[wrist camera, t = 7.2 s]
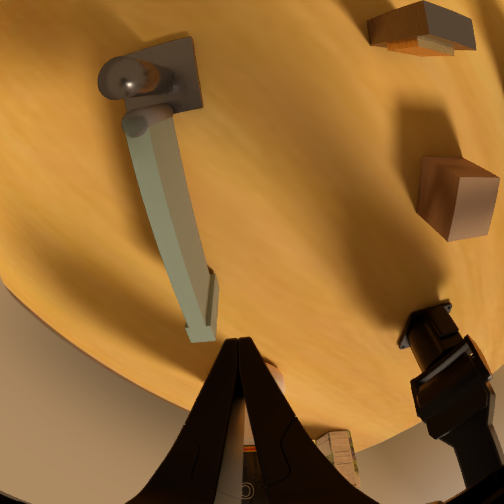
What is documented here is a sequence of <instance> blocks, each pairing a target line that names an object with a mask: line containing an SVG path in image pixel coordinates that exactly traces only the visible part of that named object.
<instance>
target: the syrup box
mask: <svg viewBox="0 0 504 504" xmlns="http://www.w3.org/2000/svg"><path fill="white" fill-rule="evenodd" d="M315 443H316V446H317V447H318V448H319V450H320V451H321V452H322V453H323V454H324V455H325V456H326V458H327V459H328V460H329V461H330V462H331V463H332V464H333V465H334V467H335V468H336V469H337V470H338V471H339V472H340V473H341V474H342V475H343V476H344V477H345V478H346V479H347V480H348V481H349V482H350V483H351V484H352V485H353V486H355V487H356V488H359V487H361V484H360V478H359V473H358V468H357V463H356V458H355V453H354V448H353V443H352V438H351V434H350V431H349V430H348V431H334V432H328V433H326V434H325V435H323V436H322V437H320V438H318V439H317V440H315Z"/></svg>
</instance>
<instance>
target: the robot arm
mask: <svg viewBox="0 0 504 504" xmlns="http://www.w3.org/2000/svg"><path fill="white" fill-rule="evenodd" d="M451 308H452V304H451V303H446V304H442V305H439V306H436V307H432V308H428V309H425V310H421V311H417V312H414V313H412V314H411V315H410V316H409V319H408V322H407V325H406V328H405V330H404V333H403V336H402V338H401V341H400V343H399V348H400V349H404V348H408V347H410V348H411V350H412V352H413V354H414V356H415V358H416V360H417V362H418V365H419V367H420V369H421V371H422V373H421V374H420V375H419V376H417V377H416V378H413V379H412V380H411V381H410V383H411V390H412V394H413V399H414V403H415V408H416V412H417V416H418V417H420V418H421V420H422V421H423V422H424V423H425V424H426V425H427V429H428V432H429V435H430V436H431V437H433V438H434V439H436V440H437V439H440V440H442V441H443V442H445V443H447V444H448V445H450V446H452V447H453V448H454V451H455V453H456V456H457V459H458V463H459V466H460V469H461V472H462V476H463V479H464V483H465V486H466V489H465V490H464V491H462V492H460V493H459V494H457V495H455V496H454V497H452V498H450V499H448V500H447V501H445V502H442V501H435V502H431V503H427V504H504V454H503V451H502V448H501V445H500V442H499V440H498V437H497V434H496V432H495V429H494V427H493V424H492V422H493V415H494V407H495V398H496V396H495V392H494V390H493V388H492V386H491V384H490V382H489V381H490V380H491V379H492V378H493V376H492V373H491V371H490V369H489V366H488V364H487V362H486V360H485V357H484V355H483V354H482V352H481V351H480V349H479V347H478V346H477V344H476V343H475V342H474V341H473V340H472V339H471V337H470V336H469V335H468V334H467V335H466V336H465V337H464V339H463V338H462V337H461V335H460V333H459V332H458V330H459V329H458V327H457V326H456V324H455V323H454V321H453V320H452V318H451V316H450V315H449V312H450V310H451ZM472 353H473V355H470V354H472ZM245 404H246V408H247V413H248V417H249V422H250V426H251V430H252V435H253V439H254V443H255V447H256V452H257V456H258V460H259V464H260V468H261V472H262V476H263V480H264V484H265V487H266V491H267V495H268V499H269V503H270V504H379V503H378V502H376V501H375V500H373V499H372V498H370V497H369V496H367V495H366V494H364V493H363V492H361V491H360V490H359V489H357V488H356V487H355V486H353V485H352V484H351V483H350V482H349V481H348V480H347V479H346V478H345V477H344V476H343V475H342V474H341V473H340V472H339V471H338V470H337V469H336V468H335V467H334V465H333V464H332V463H331V462H330V461H329V460H328V459H327V458H326V456H325V455H324V454H323V453H322V452H321V451H320V450H319V448H318V447H317V446H316V445H315V443H314V442H313V441H312V439H311V438H310V437H309V435H308V434H307V432H306V431H305V429H304V428H303V426H302V425H301V423H300V421H299V420H298V418H297V417H296V415H295V413H294V412H293V410H292V408H291V406H290V405H289V403H288V401H287V400H286V398H285V396H284V395H283V393H282V391H281V389H280V388H279V386H278V384H277V383H276V381H275V379H274V377H273V376H272V374H271V372H270V370H269V369H268V367H267V365H266V363H265V362H264V360H263V358H262V356H261V354H260V353H259V351H258V349H257V347H256V345H255V344H254V342H253V340H252V338H251V337H240V338H239V339H237V338H229V339H226V340H225V341H224V343H223V345H222V347H221V349H220V351H219V353H218V356H217V358H216V360H215V362H214V364H213V366H212V368H211V370H210V372H209V374H208V376H207V378H206V380H205V382H204V385H203V387H202V389H201V391H200V393H199V395H198V397H197V399H196V401H195V403H194V405H193V407H192V409H191V411H190V413H189V415H188V417H187V420H186V422H185V424H186V425H183V427H182V429H181V431H180V433H179V435H178V437H177V439H176V441H175V443H174V444H173V446H172V448H171V449H170V451H169V453H168V454H167V456H166V457H165V459H164V460H163V462H162V463H161V465H160V466H159V468H158V469H157V470H156V472H155V473H154V475H153V476H152V477H151V479H150V480H149V481H148V483H147V484H146V486H145V487H144V488H143V489H142V490H141V491H140V492H139V493H138V494H137V495H136V496H135V497H134V498H132V499H131V500H129V501H128V502H126V503H125V504H241V498H242V474H243V449H244V424H245ZM0 504H31V503H28V502H26V501H23V500H21V499H18V498H16V497H13V496H11V495H9V494H6V493H4V492H2V491H0Z"/></svg>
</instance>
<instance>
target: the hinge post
mask: <svg viewBox="0 0 504 504" xmlns="http://www.w3.org/2000/svg"><path fill="white" fill-rule="evenodd" d="M98 88H99V91H100V92H101V94H102V95H103V96H104V97H106V98H108V99H112V100H118V99H124V100H125V105H126V110H127V112H128V111H129V110H132V109H136V108H140V107H145V106H150V105H155V104H160V103H166V104H168V105H170V106H171V107H172V109H173V114H175V113H179V112H184V111H189V110H193V109H198V108H203V107H204V106H203V100H202V94H201V88H200V82H199V76H198V70H197V63H196V57H195V51H194V44H193V38H192V37H187V38H183V39H179V40H174V41H171V42H167V43H163V44H159V45H156V46H153V47H149V48H146V49H143V50H140V51H137V52H134V53H131V54H128V55H125V56H119V57H115V58H113V59H111V60H109V61H108V62H107V63H106V64H105V65H104V66H103V67H102V69H101V70H100V72H99V75H98Z"/></svg>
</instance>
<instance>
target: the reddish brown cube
mask: <svg viewBox="0 0 504 504" xmlns="http://www.w3.org/2000/svg"><path fill="white" fill-rule="evenodd" d="M499 181H500V178H499V177H498V176H496V175H494V174H492V173H491V172H489V171H487V170H485V169H483V168H482V167H480V166H478V165H476V164H474V163H472V162H470V161H468V160H466V159H464V158H459V157H436V156H422V160H421V173H420V183H419V193H418V201H417V208H416V213H417V214H418V215H420V216H421V217H422V218H423V219H424V220H425V221H426V222H427V223H428V224H429V225H431V226H432V227H433V228H434V229H435V230H436V231H437V232H438V233H439V234H440V235H441V236H442V237H443V238H444V239H445V240H446V241H447V242H450V241H456V240H462V239H468V238H473V237H479V236H485V235H487V234H488V231H489V227H490V223H491V219H492V215H493V211H494V207H495V202H496V197H497V192H498V187H499Z"/></svg>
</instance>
